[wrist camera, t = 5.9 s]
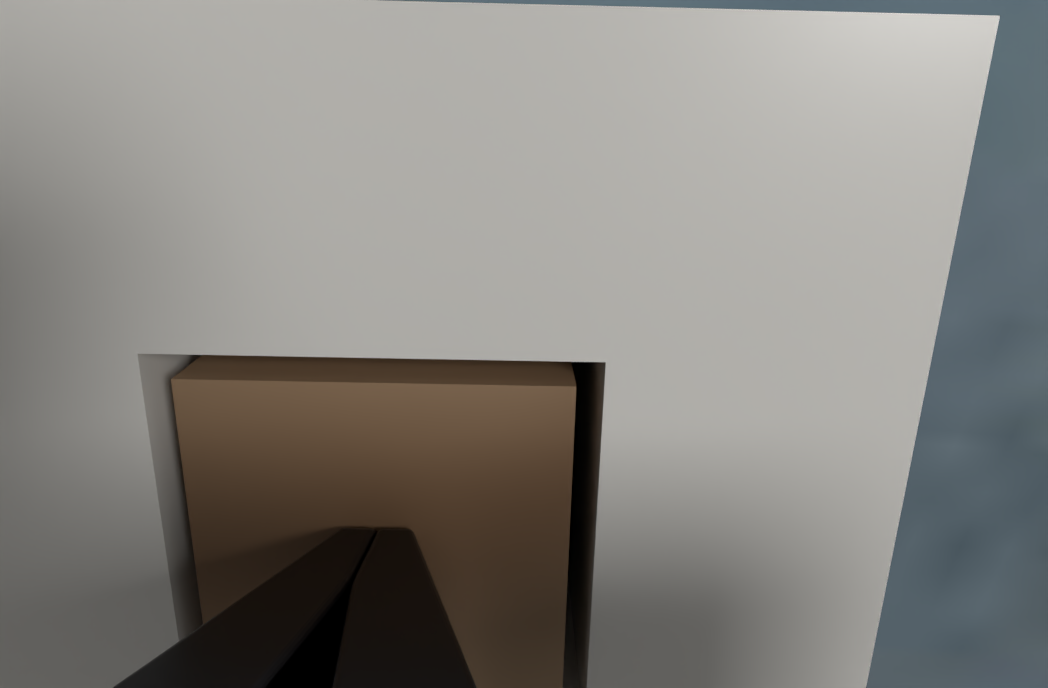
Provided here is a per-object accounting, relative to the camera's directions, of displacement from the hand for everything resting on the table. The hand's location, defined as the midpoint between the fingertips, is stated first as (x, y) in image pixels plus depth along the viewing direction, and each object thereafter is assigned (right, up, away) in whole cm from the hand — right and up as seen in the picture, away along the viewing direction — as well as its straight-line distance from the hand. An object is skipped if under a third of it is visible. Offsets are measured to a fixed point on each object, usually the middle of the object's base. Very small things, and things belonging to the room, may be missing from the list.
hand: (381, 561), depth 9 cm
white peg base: (0, -4, +7) cm, 8 cm away
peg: (0, +2, +5) cm, 5 cm away
